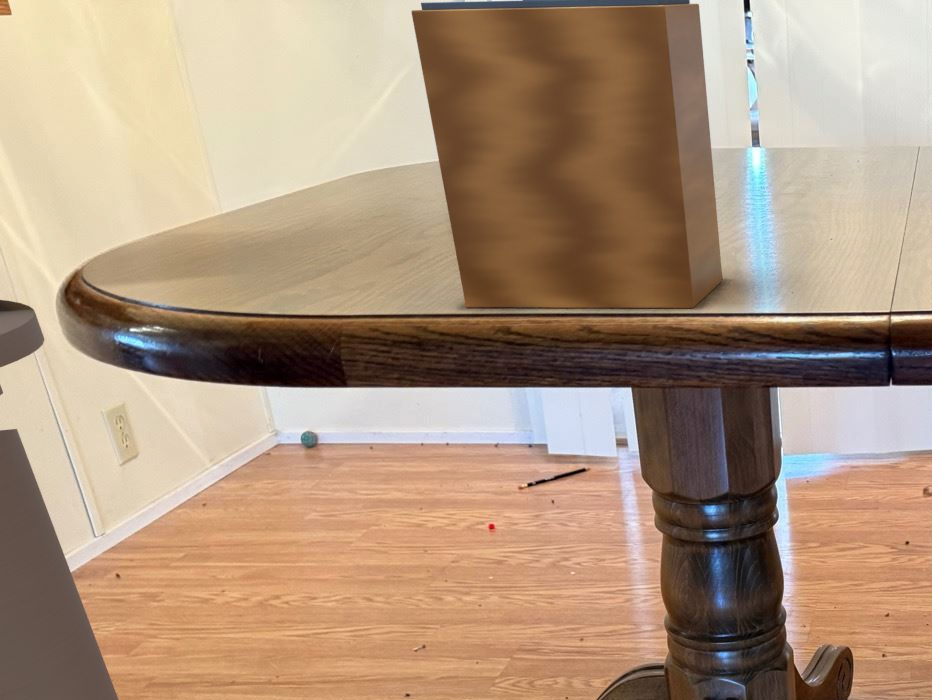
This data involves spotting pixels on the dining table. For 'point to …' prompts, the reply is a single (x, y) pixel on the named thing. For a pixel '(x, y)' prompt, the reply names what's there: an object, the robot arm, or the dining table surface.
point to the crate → (574, 154)
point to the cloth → (544, 4)
